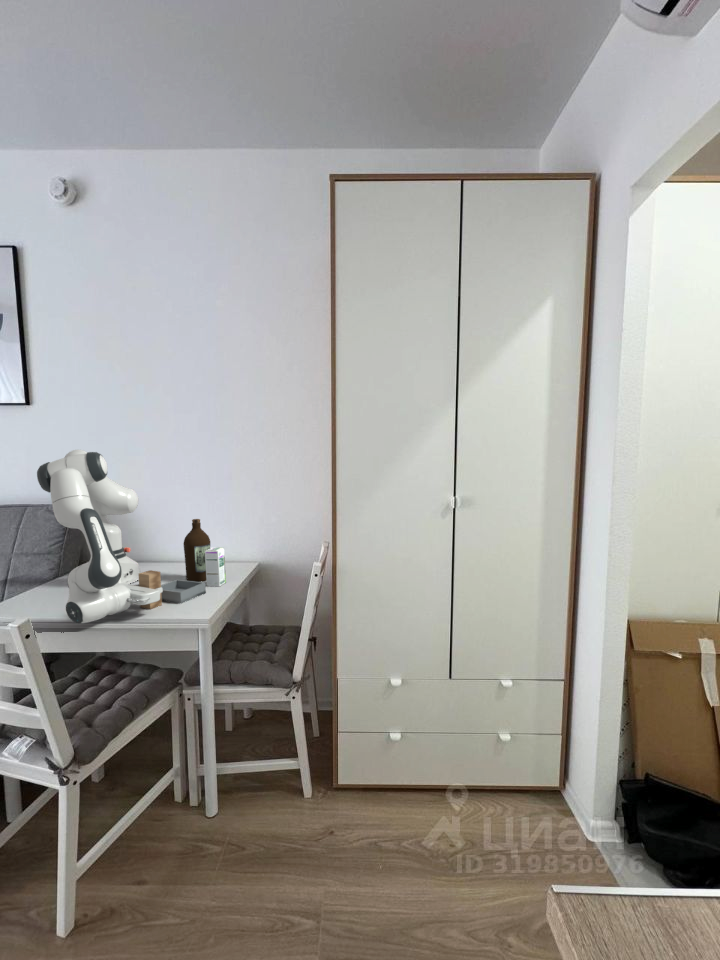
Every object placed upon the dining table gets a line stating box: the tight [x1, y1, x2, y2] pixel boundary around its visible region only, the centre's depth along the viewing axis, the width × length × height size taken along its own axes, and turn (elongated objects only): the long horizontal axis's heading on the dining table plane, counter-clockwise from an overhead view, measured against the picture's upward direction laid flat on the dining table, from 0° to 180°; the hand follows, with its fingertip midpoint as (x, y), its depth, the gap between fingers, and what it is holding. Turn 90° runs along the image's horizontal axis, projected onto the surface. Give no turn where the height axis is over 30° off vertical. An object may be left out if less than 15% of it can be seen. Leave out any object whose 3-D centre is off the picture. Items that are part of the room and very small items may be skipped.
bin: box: [161, 579, 207, 604], centre depth 204 cm, size 14×14×4 cm
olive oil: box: [182, 518, 211, 582], centre depth 227 cm, size 11×11×25 cm
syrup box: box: [205, 546, 227, 588], centre depth 219 cm, size 6×6×14 cm
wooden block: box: [138, 570, 163, 610], centre depth 193 cm, size 5×5×12 cm
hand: (151, 587), depth 193 cm, fingers open, 8 cm apart
